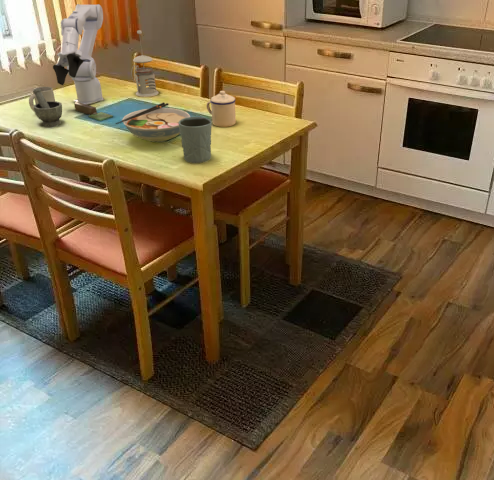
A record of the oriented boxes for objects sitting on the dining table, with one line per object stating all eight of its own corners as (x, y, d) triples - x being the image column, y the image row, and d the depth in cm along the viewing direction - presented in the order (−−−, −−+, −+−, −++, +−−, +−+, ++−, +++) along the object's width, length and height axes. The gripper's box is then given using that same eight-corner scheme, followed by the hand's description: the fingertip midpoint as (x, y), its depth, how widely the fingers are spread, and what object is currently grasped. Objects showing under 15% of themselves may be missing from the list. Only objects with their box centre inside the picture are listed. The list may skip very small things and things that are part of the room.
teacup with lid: (241, 121, 217) (240, 90, 210) (226, 128, 210) (225, 96, 204) (215, 116, 222) (213, 85, 215) (200, 123, 215) (198, 91, 209)
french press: (163, 92, 248) (156, 29, 234) (144, 99, 240) (136, 34, 226) (146, 88, 252) (139, 26, 238) (127, 95, 244) (117, 31, 230)
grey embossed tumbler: (176, 161, 185) (172, 124, 178) (191, 150, 193) (188, 114, 186) (204, 166, 182) (201, 128, 175) (219, 154, 190) (217, 118, 183)
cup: (61, 112, 225) (56, 88, 220) (37, 118, 218) (31, 94, 213) (51, 108, 229) (46, 85, 224) (27, 114, 222) (21, 90, 217)
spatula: (70, 111, 226) (69, 104, 224) (83, 107, 230) (82, 100, 228) (100, 121, 217) (98, 113, 215) (113, 117, 220) (111, 109, 219)
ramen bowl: (158, 157, 188) (155, 132, 183) (108, 143, 198) (104, 119, 193) (207, 134, 205) (205, 111, 201) (158, 122, 215) (156, 100, 211)
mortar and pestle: (70, 123, 214) (64, 90, 208) (48, 130, 208) (40, 96, 201) (52, 117, 220) (45, 84, 213) (30, 123, 214) (22, 90, 207)
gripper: (49, 50, 218) (45, 82, 214) (70, 34, 209) (67, 67, 206) (66, 59, 223) (63, 90, 220) (88, 44, 214) (85, 76, 211)
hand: (66, 80), depth 213 cm, fingers open, 7 cm apart
